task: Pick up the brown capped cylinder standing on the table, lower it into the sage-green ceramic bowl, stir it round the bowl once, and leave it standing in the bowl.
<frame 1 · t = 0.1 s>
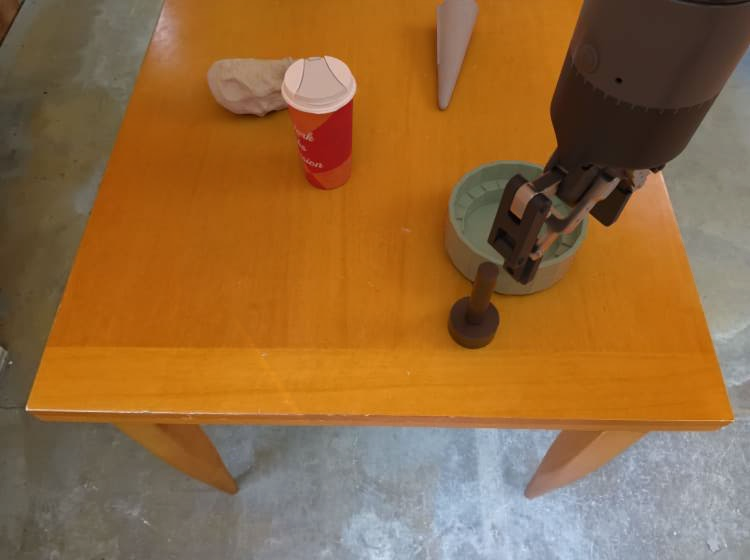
hand: (560, 244, 41), 22 cm above the table, tool pointing down, fingers open, 8 cm apart
bowl: (507, 242, 68), on the table
pale crumpled lump: (277, 100, 82), on the table
brown capped cylinder: (471, 327, 62), on the table
long tapered cone: (456, 68, 85), on the table
coffee cup: (328, 173, 74), on the table
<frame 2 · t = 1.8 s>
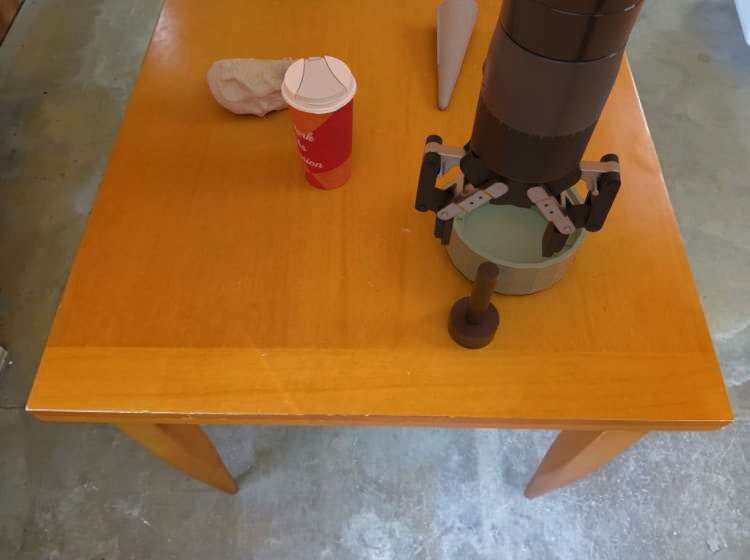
hand: (495, 242, 49), 16 cm above the table, tool pointing down, fingers open, 8 cm apart
nothing on the table moved.
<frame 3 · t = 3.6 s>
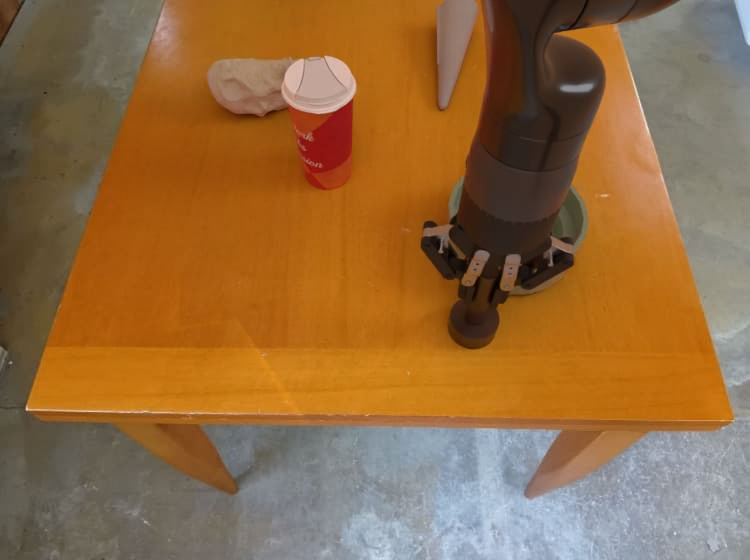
hand: (480, 297, 56), 6 cm above the table, tool pointing down, fingers closed on brown capped cylinder
brown capped cylinder: (471, 327, 62), on the table, touching gripper
everything else where it was.
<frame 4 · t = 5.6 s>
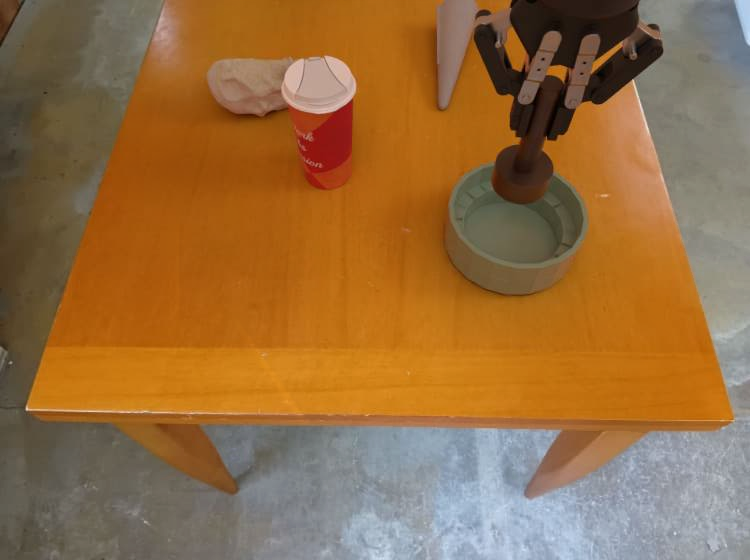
hand: (535, 131, 48), 21 cm above the table, tool pointing down, fingers closed on brown capped cylinder
brown capped cylinder: (518, 182, 53), point 15 cm above the table, touching gripper
everything else where it was.
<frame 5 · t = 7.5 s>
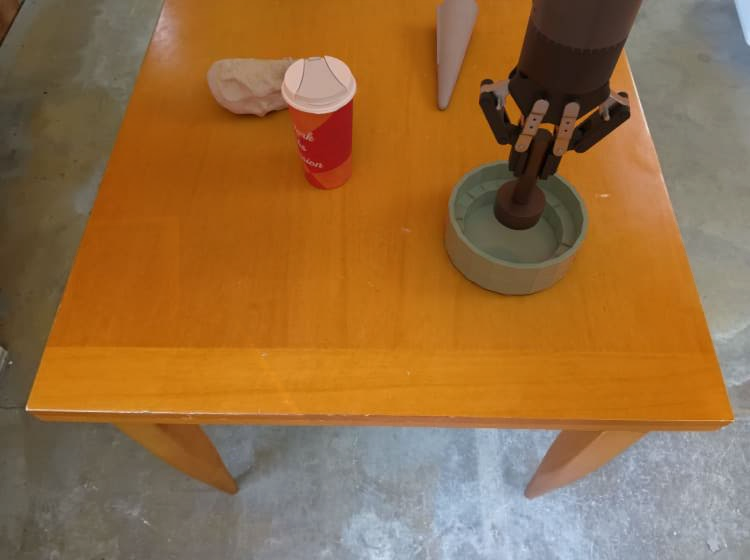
hand: (530, 171, 58), 12 cm above the table, tool pointing down, fingers closed on brown capped cylinder
brown capped cylinder: (516, 211, 63), point 6 cm above the table, touching gripper
everything else where it was.
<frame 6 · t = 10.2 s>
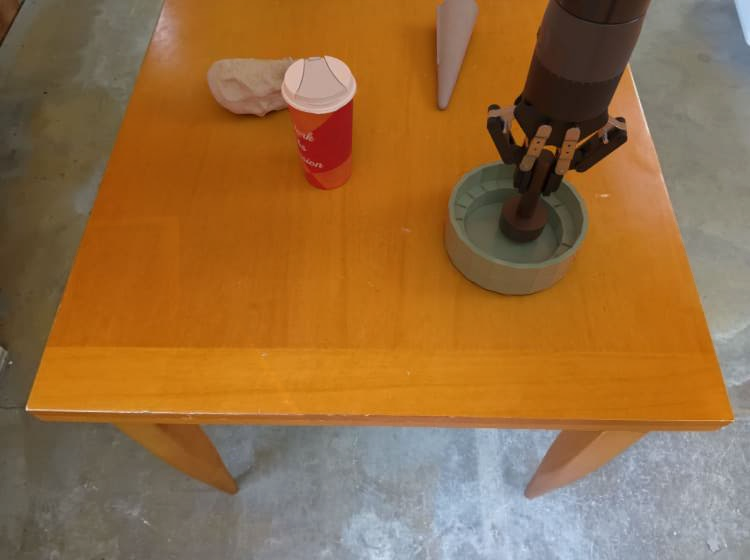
hand: (533, 188, 61), 8 cm above the table, tool pointing down, fingers closed on brown capped cylinder
brown capped cylinder: (520, 224, 67), point 2 cm above the table, touching gripper
everything else where it was.
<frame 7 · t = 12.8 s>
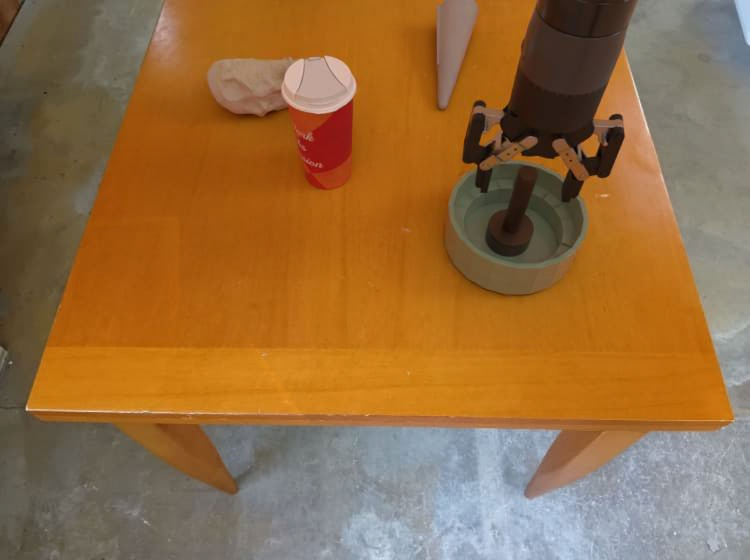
hand: (524, 191, 61), 9 cm above the table, tool pointing down, fingers open, 8 cm apart
brown capped cylinder: (507, 238, 67), point 1 cm above the table, touching bowl
everything else where it was.
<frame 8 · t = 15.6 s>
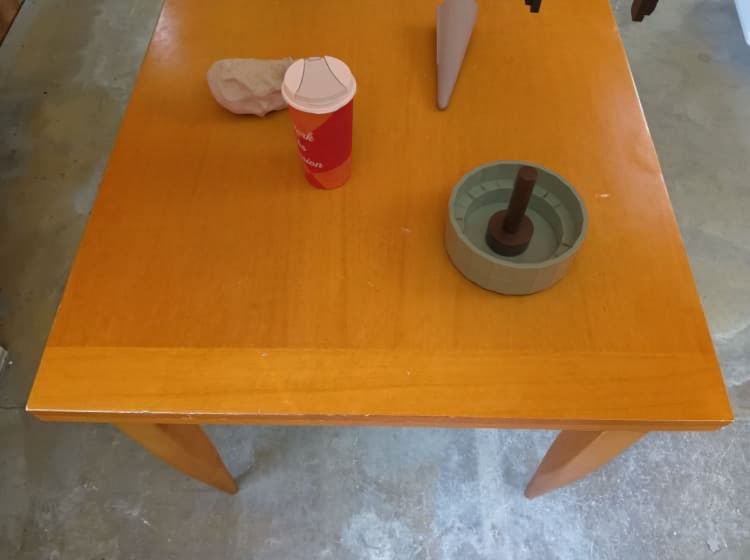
hand: (584, 12, 49), 26 cm above the table, tool pointing down, fingers open, 8 cm apart
nothing on the table moved.
at the end: brown capped cylinder inside the target area in the bowl (0.2 cm from its centre), point 0.6 cm above the bowl's base; the gripper is holding nothing; long tapered cone moved 0.2 cm from its start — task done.
